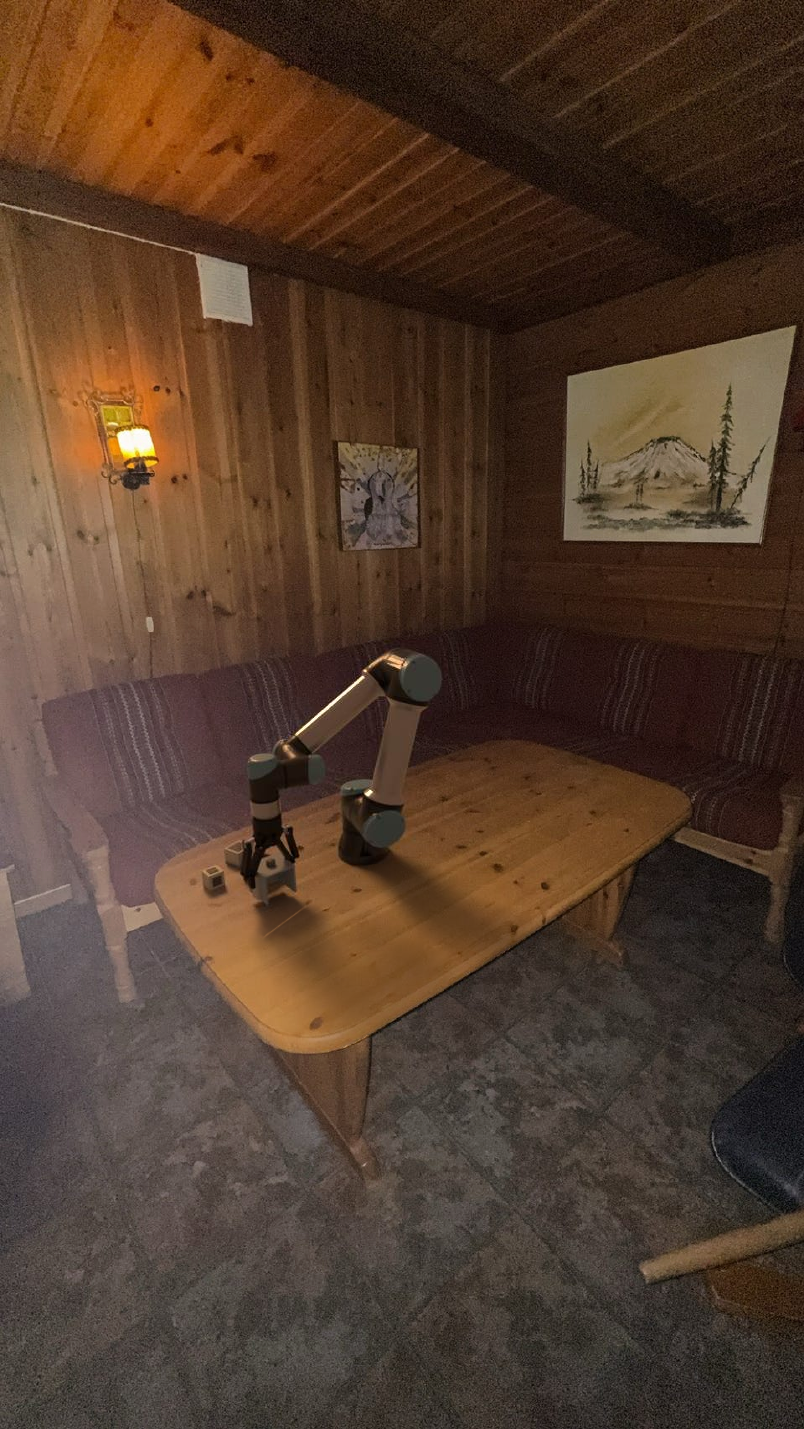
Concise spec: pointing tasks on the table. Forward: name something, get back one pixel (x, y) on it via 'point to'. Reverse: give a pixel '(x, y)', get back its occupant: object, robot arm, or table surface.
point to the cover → (275, 874)
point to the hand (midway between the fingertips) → (273, 890)
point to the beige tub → (235, 853)
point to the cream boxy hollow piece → (213, 877)
